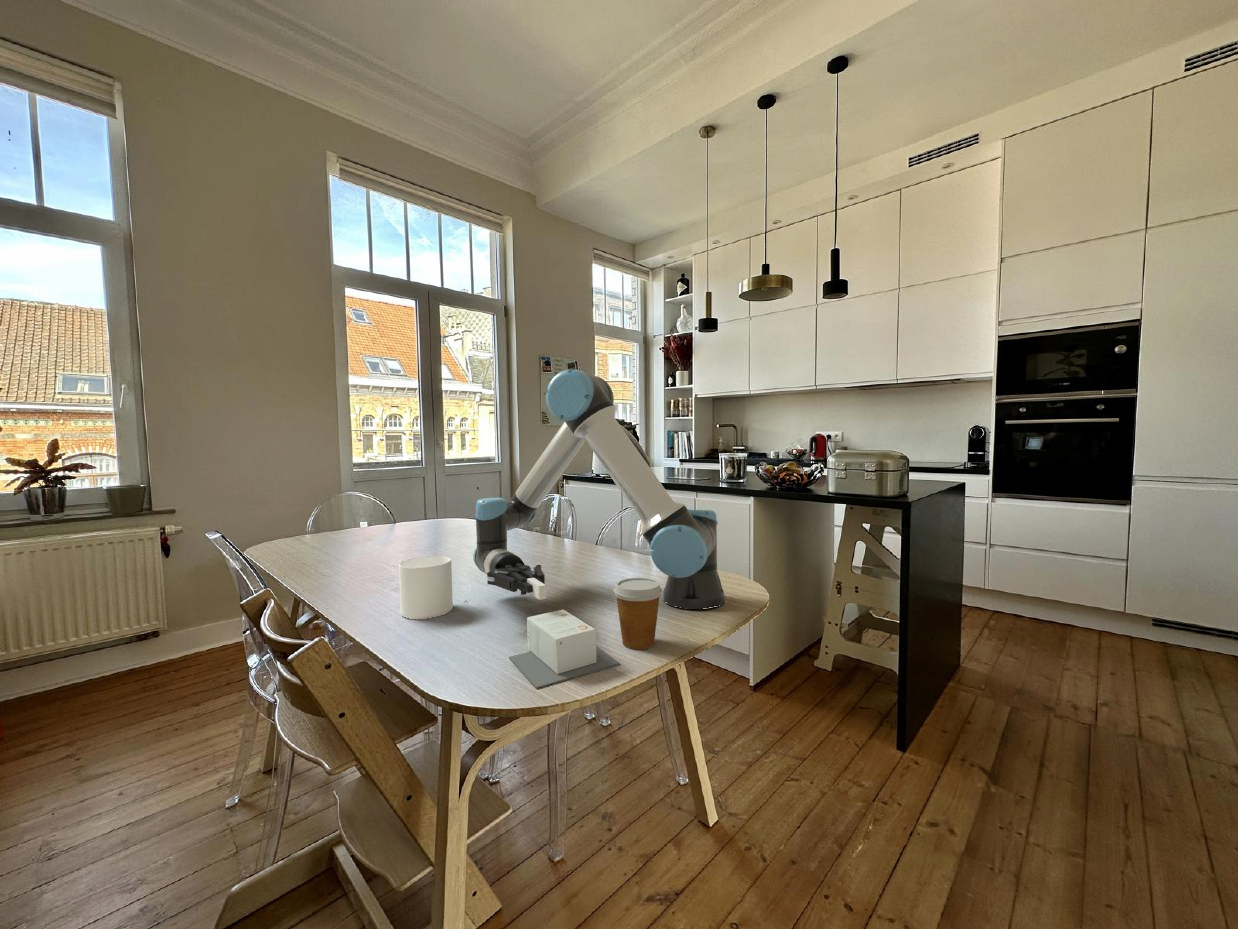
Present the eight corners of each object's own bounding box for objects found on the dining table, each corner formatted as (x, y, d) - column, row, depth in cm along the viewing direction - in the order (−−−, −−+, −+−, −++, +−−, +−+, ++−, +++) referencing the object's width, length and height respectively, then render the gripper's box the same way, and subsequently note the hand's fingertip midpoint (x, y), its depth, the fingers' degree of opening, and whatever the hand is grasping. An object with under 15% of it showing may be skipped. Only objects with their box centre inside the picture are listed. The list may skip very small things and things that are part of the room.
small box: (527, 649, 94) (556, 675, 83) (526, 616, 94) (555, 639, 83) (564, 639, 99) (597, 663, 88) (564, 608, 99) (596, 628, 88)
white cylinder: (431, 600, 126) (429, 554, 126) (463, 607, 120) (461, 559, 120) (390, 614, 116) (388, 564, 115) (422, 623, 110) (420, 570, 110)
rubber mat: (585, 639, 99) (585, 638, 99) (619, 664, 88) (619, 662, 88) (509, 658, 91) (508, 656, 91) (536, 689, 80) (536, 687, 80)
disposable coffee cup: (666, 652, 93) (665, 589, 92) (616, 654, 92) (615, 591, 92) (658, 632, 102) (657, 576, 102) (612, 635, 102) (612, 578, 101)
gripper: (530, 578, 120) (572, 605, 100) (477, 587, 114) (511, 617, 94) (529, 548, 120) (571, 568, 100) (476, 555, 113) (510, 578, 93)
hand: (542, 592), depth 97 cm, fingers closed
